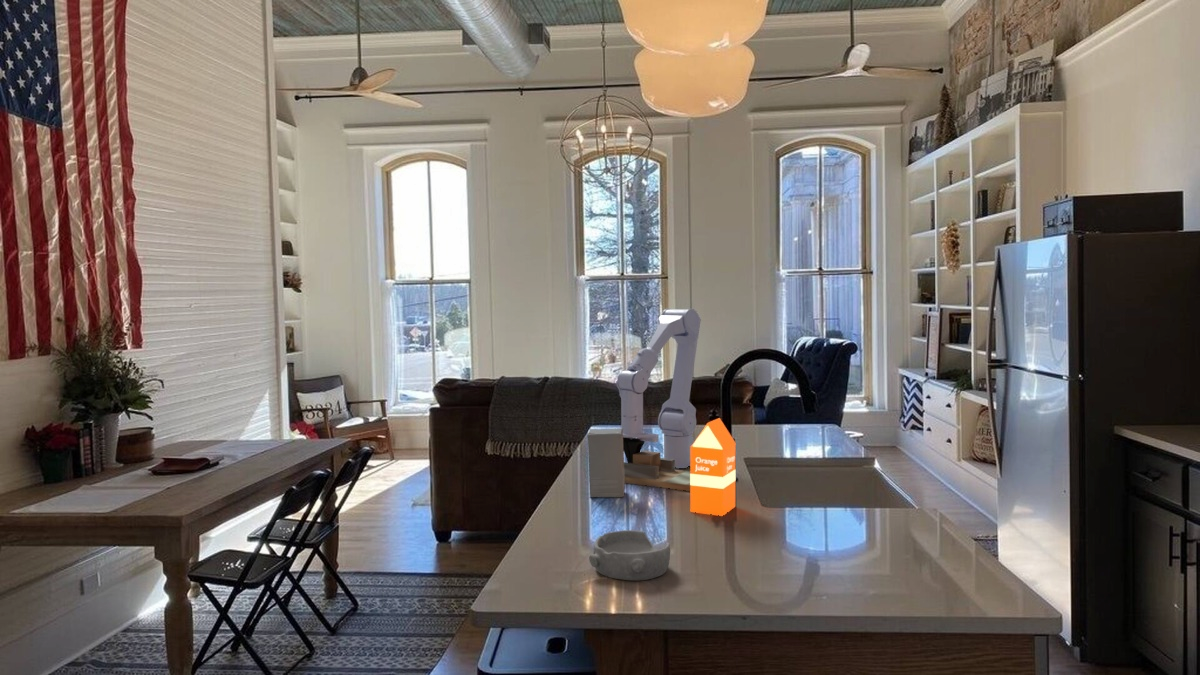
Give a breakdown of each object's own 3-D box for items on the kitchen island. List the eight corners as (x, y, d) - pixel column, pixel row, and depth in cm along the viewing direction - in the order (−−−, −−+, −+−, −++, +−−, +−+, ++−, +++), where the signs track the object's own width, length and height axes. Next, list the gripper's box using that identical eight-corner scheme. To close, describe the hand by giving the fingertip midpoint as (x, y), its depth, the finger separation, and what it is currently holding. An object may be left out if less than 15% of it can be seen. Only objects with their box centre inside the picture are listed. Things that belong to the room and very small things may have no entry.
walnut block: (643, 469, 209) (643, 450, 209) (660, 471, 207) (660, 452, 206) (632, 473, 204) (632, 454, 204) (650, 475, 201) (650, 456, 201)
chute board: (630, 469, 216) (630, 453, 216) (711, 479, 204) (711, 462, 203) (604, 480, 204) (604, 463, 203) (689, 491, 192) (689, 473, 191)
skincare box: (625, 491, 192) (624, 427, 191) (623, 499, 185) (622, 432, 184) (590, 491, 192) (590, 427, 192) (587, 498, 185) (587, 432, 185)
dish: (624, 551, 148) (624, 525, 147) (686, 567, 139) (686, 539, 139) (573, 572, 136) (573, 544, 136) (637, 591, 128) (637, 560, 127)
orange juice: (689, 511, 174) (689, 422, 173) (703, 502, 181) (703, 416, 180) (723, 516, 170) (723, 424, 169) (736, 506, 178) (736, 418, 177)
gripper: (600, 415, 207) (601, 466, 208) (649, 420, 200) (650, 472, 200) (613, 412, 213) (614, 461, 214) (662, 416, 206) (662, 467, 206)
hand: (632, 466), depth 207 cm, fingers closed
